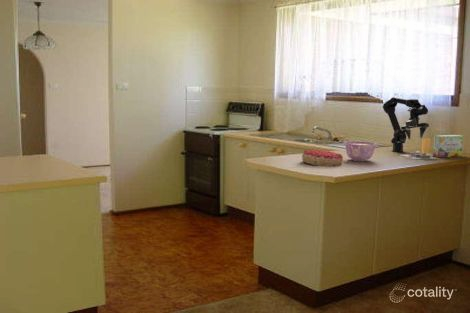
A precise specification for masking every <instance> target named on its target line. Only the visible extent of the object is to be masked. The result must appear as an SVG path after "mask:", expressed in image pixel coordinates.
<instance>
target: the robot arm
mask: <svg viewBox="0 0 470 313" xmlns="http://www.w3.org/2000/svg"><path fill="white" fill-rule="evenodd" d="M398 104H401V105H405V106H406V107H408V108H409V109H407V112H409V118H408V120H407V121H405V125H400V122H399V120H398V118H397V115H396V107H397V106H398ZM382 109H383V111H384V112H385V113H386V114H387V116H388V117H389V118H388V119H389V121H390V123H391V126H392V129H393V131H394V132H393V138H392V139H391V140H390V141H391V144H392V150H391V152H395V153H402V152H404V144H405V143H406V140H407V138H408V140H411V132H412V130H411V129H416V128H419V133H420V134H419V137H420V139H423V136H424V135H425V132H426V129H428V128H429V127H430V124H429V123H428V122H419V121H420V116H425V115H427V114H428V113H429V110H428V108H427V106H426V105H425V104H421V102H420V101H419V99H417V98H416V99H415V98H414V99H413V98H411V99H407V98H401V97H398V96H393V97H391V98H390V99H389V100H387V101H386V102H384V103H383V105H382Z"/></svg>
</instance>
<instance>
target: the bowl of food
mask: <svg viewBox="0 0 470 313" xmlns="http://www.w3.org/2000/svg"><path fill="white" fill-rule="evenodd" d="M344 146H345V151H346V155H347V157H348V158H349V159H351V160H352V161H353V162H366V161H368V160H369V159H371V158H372V157H373V155H374V153H375V148H376V146H377V143H376V142H371V141H365V140H364V141H363V140H362V141H361V140H349V141H345V142H344Z"/></svg>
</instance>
